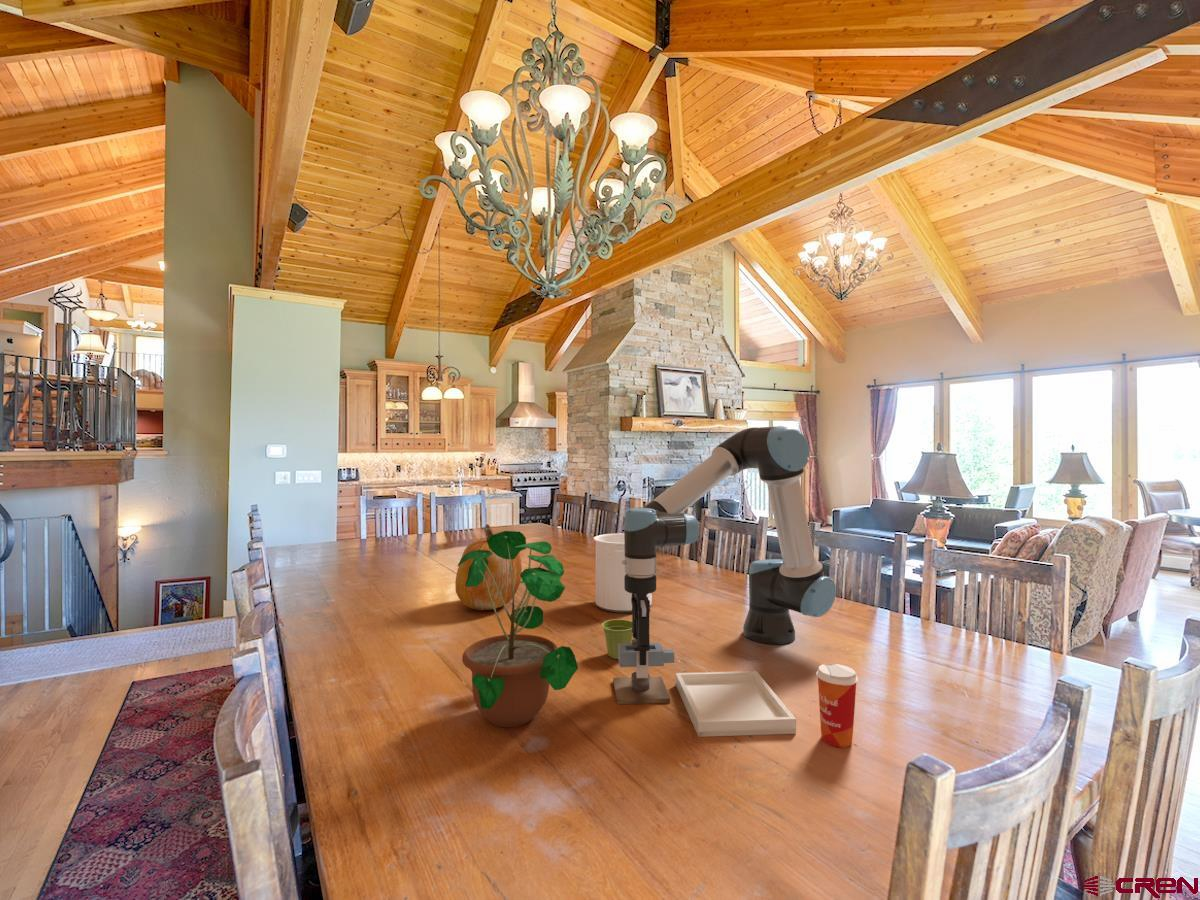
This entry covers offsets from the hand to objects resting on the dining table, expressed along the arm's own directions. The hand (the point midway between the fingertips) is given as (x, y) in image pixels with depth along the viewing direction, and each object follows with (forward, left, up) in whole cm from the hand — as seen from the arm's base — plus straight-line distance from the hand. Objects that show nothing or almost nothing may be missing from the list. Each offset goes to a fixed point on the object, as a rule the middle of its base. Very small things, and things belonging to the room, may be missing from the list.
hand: (640, 671), depth 134 cm
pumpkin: (+45, -73, -5) cm, 86 cm away
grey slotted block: (-1, 0, +2) cm, 3 cm away
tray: (-19, +9, -5) cm, 22 cm away
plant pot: (+3, -23, -5) cm, 24 cm away
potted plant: (+26, +9, -5) cm, 28 cm away
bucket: (-3, -71, -5) cm, 71 cm away
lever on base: (0, 0, -5) cm, 5 cm away
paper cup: (-36, +24, -5) cm, 44 cm away
